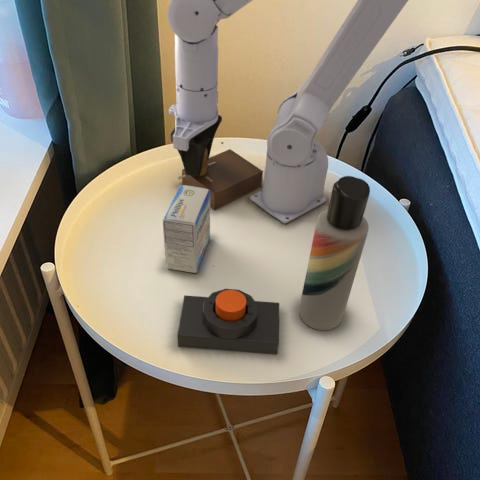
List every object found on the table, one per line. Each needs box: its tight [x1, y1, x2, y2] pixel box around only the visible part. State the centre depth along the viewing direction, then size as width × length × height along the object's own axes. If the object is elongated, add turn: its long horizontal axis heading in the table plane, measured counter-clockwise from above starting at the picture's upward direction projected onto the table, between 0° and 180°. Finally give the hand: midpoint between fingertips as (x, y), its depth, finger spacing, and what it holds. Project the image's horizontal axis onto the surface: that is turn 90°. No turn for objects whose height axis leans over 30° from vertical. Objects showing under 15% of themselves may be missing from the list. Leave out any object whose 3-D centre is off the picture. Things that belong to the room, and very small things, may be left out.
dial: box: [199, 148, 207, 176], centre depth 84 cm, size 3×3×4 cm
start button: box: [215, 290, 246, 322], centre depth 65 cm, size 4×4×2 cm
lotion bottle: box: [298, 175, 371, 331], centre depth 63 cm, size 6×6×20 cm
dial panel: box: [177, 148, 264, 211], centre depth 87 cm, size 12×10×3 cm
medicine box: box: [162, 184, 211, 274], centre depth 74 cm, size 8×4×9 cm, turn 168°
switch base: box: [176, 288, 280, 355], centre depth 67 cm, size 12×7×4 cm, turn 87°
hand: (197, 167), depth 85 cm, fingers closed on dial, 3 cm apart
